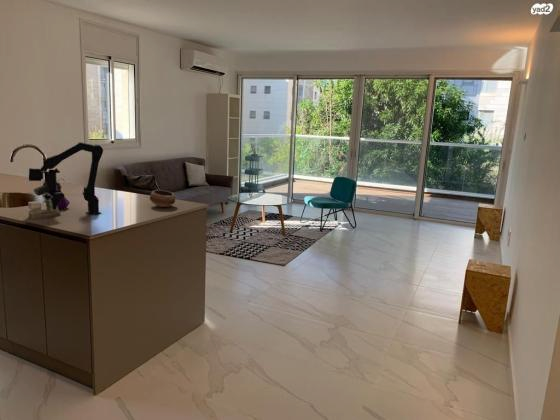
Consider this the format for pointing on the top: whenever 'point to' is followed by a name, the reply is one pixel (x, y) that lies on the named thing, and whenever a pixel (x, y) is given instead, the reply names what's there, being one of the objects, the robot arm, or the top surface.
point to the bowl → (162, 198)
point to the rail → (40, 211)
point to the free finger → (50, 206)
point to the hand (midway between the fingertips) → (52, 208)
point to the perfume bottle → (63, 202)
